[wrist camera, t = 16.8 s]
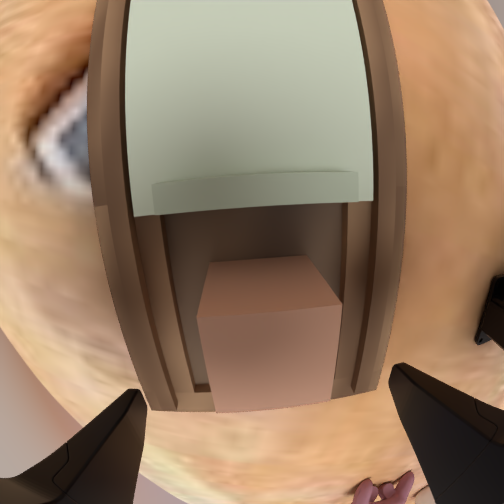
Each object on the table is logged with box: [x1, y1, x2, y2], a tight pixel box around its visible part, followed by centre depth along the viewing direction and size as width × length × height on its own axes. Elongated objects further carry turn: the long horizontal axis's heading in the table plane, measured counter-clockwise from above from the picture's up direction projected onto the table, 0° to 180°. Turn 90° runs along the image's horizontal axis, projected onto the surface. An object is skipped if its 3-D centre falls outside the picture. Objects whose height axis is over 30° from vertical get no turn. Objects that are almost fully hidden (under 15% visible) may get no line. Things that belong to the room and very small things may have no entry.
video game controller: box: [351, 472, 414, 504], centre depth 23 cm, size 10×5×7 cm, turn 70°
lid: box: [125, 0, 373, 217], centre depth 10 cm, size 11×13×2 cm
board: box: [87, 0, 407, 412], centre depth 13 cm, size 16×28×2 cm, turn 4°
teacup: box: [415, 485, 435, 504], centre depth 29 cm, size 10×8×5 cm
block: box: [196, 255, 342, 413], centre depth 13 cm, size 5×5×6 cm
